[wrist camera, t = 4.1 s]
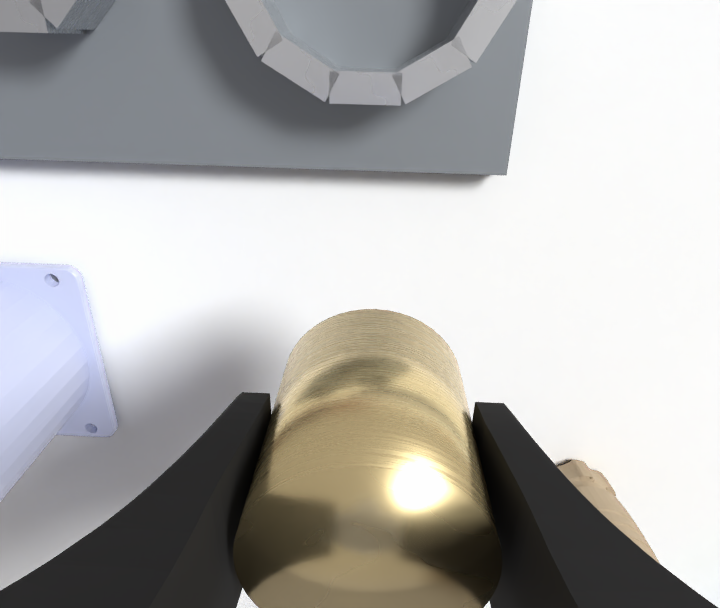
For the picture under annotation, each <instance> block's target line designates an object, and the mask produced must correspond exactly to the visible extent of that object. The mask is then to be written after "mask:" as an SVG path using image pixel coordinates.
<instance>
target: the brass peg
mask: <svg viewBox="0 0 720 608" xmlns="http://www.w3.org/2000/svg"><path fill="white" fill-rule="evenodd" d="M233 562H234V567H235V571H236V574H237V577H238V579H239V581H240V584H241V585H242V587H243V589H244V590H245V592H246V594H247V595H248V596H249V597H250V598H251V600H252V601H253V602H254V603H255V604H256V605H257V606H258V607H259V608H484V606H485V605H486V604H487V603H488V601H489V600H490V599H491V597H492V596H493V594H494V592H495V590H496V588H497V586H498V583H499V580H500V577H501V572H502V564H503V563H502V551H501V547H500V542H499V538H498V534H497V529H496V525H495V521H494V516H493V512H492V508H491V503H490V499H489V495H488V491H487V486H486V482H485V478H484V473H483V469H482V465H481V460H480V456H479V452H478V447H477V443H476V439H475V434H474V430H473V426H472V421H471V417H470V413H469V408H468V404H467V400H466V395H465V391H464V387H463V382H462V378H461V374H460V370H459V366H458V363H457V360H456V358H455V356H454V354H453V352H452V350H451V349H450V347H449V346H448V344H447V343H446V342H445V341H444V340H443V338H442V337H441V336H440V335H439V334H437V333H436V332H435V331H434V330H433V329H432V328H430V327H429V326H427V325H425V324H424V323H422V322H420V321H418V320H416V319H414V318H412V317H410V316H407V315H404V314H401V313H397V312H393V311H388V310H378V309H363V310H355V311H349V312H345V313H341V314H338V315H336V316H333V317H330V318H328V319H326V320H324V321H322V322H321V323H319V324H317V325H316V326H314V327H313V328H312V329H310V330H309V331H308V332H307V333H306V334H305V335H304V336H303V337H302V338H301V339H300V340H299V342H298V343H297V344H296V345H295V347H294V349H293V350H292V352H291V354H290V356H289V359H288V362H287V364H286V368H285V371H284V374H283V378H282V381H281V384H280V388H279V391H278V395H277V398H276V401H275V405H274V408H273V411H272V415H271V418H270V421H269V425H268V428H267V432H266V435H265V438H264V442H263V445H262V448H261V452H260V455H259V458H258V462H257V465H256V469H255V472H254V475H253V479H252V482H251V485H250V489H249V492H248V495H247V499H246V502H245V506H244V509H243V512H242V516H241V519H240V522H239V526H238V529H237V532H236V536H235V540H234V546H233Z"/></svg>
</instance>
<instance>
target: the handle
mask: <svg viewBox="0 0 720 608" xmlns="http://www.w3.org/2000/svg"><path fill="white" fill-rule="evenodd" d="M557 467H558V468H559V470H560V471H561V472H562V473H563V474H564V475H565V476H566V477H567V479H568V480H569V481H570V482H571V483H572V484H573V485H574V486H575V487H576V488H577V489H578V490H579V491H580V492H581V493H582V494H583V495H584V496H585V497H586V498H587V499H588V500H589V501H590V502H591V503H592V504H593V505H594V506H595V507H596V508H597V509H598V510H599V511H600V512H601V513H602V514H603V515H604V516H605V517H606V518H607V519H608V520H609V521H610V522H611V523H612V524H614V525H615V526H616V527H617V528H618V529H619V530H620V531H622V532H623V533H624V534H625V535H626V536H627V537H628V538H630V539H631V540H632V541H633V542H634V543H635V544H636V545H638V546H639V547H640V548H641V549H642V550H643V551H645V552H646V553H647V554H648V555H649V556H651V557H652V558H653V559H654V560H656V561H657V562H658V560H657V558H656V556H655V554H654V553H653V551H652V549H651V547H650V546H649V544H648V543H647V541H646V540H645V538H644V536H643V534H642V533H641V531H640V530H639V528H638V527H637V525H636V523H635V522H634V521H633V519H632V518H631V516H630V515H629V513H628V512H627V511H626V509H625V508H624V507H623V506H622V504H621V503H620V502H619V501H618V499H617V498H616V497H615V496H616V494H615V492H614V490H613V488H612V487H611V485H610V484H609V482H608V481H607V479H606V478H605V477H604V476H603V474H602V473H601V472H599V471H594V470H591V469H589V468H588V467H587V465H586V464H585V463H584V462H583V461H578V460H571V461H570V462H568V463H566V464H564V465H561V466H557ZM658 563H659V562H658ZM659 564H660V563H659Z"/></svg>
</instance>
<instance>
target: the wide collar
mask: <svg viewBox="0 0 720 608" xmlns="http://www.w3.org/2000/svg"><path fill="white" fill-rule="evenodd" d="M225 1H226V3H227V5H228V6H229V8H230V10H231V12H232V13H233V15H234V17H235V19H236V20H237V22H238V24H239V26H240V28H241V29H242V31H243V33H244V35H245V36H246V38H247V40H248V42H249V43H250V45H251V47H252V49H253V50H254V52H255V54H256V56H257V57H261V56H263V58H262V60H261V61H262V62H263V63H265V64H266V65H268V66H270V67H271V68H273V69H274V70H276V71H277V72H279V73H280V74H282V75H284V76H285V77H287V78H288V79H290V80H291V81H293V82H294V83H296V84H298V85H299V86H301V87H302V88H304V89H305V90H307V91H308V92H310V93H311V94H313V95H315V96H316V97H318V98H319V99H321V100H322V101H324V102H325V101H326V100H327V99H328V98H329V104H362V105H396V106H401V96H402V98H403V100H404V102H405V104H407V103H409V102H411V101H412V100H414V99H416V98H418V97H420V96H421V95H423V94H425V93H427V92H428V91H430V90H432V89H434V88H436V87H437V86H439V85H441V84H443V83H444V82H446V81H448V80H450V79H451V78H453V77H455V76H457V75H459V74H460V73H462V72H464V71H466V70H467V69H469V68H471V67H472V66H471V63H470V62H474V63H476V62H477V61H478V59H479V58H480V56H481V55H482V53H483V52H484V50H485V49H486V47H487V45H488V44H489V42H490V41H491V39H492V38H493V36H494V35H495V33H496V32H497V30H498V29H499V27H500V25H501V24H502V22H503V21H504V19H505V18H506V16H507V15H508V13H509V12H510V10H511V9H512V7H513V5H514V4H515V2H516V1H517V0H469V2H468V3H467V5H466V6H465V8H464V10H463V11H462V13H461V15H460V16H459V18H458V20H457V21H456V23H455V24H454V26H453V28H452V29H451V31H450V33H449V34H448V36H447V37H446V39H445V40H443V41H442V42H440V43H438V44H436V45H435V46H433V47H431V48H430V49H428V50H426V51H425V52H423V53H421V54H419V55H418V56H416V57H414V58H413V59H411V60H409V61H407V62H406V63H404V64H402V65H401V66H399V67H397V68H395V69H387V68H352V67H339V66H338V65H336V64H335V63H333V62H332V61H330V60H329V59H327V58H326V57H324V56H323V55H321V54H320V53H318V52H317V51H315V50H314V49H312V48H311V47H309V46H308V45H306V44H305V43H303V42H302V41H300V40H299V39H297V38H296V37H294V36H293V35H292V34H291V32H290V30H289V28H288V26H287V24H286V22H285V21H284V19H283V17H282V15H281V13H280V11H279V9H278V7H277V6H276V4H275V2H274V0H225Z"/></svg>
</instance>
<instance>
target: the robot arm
mask: <svg viewBox="0 0 720 608" xmlns="http://www.w3.org/2000/svg"><path fill="white" fill-rule="evenodd" d="M51 274H53V275H55V276H56V277H57V278H58V280H59V282H56V281H54V280H53V279H52V277H51ZM270 418H271V404H270V394H268V393H244V392H242V393H241V394H240V395H239V396H238V397H237V398H236V399H235V400H234V401H233V402H232V403H231V404H230V405H229V407H228V408H227V409H226V410H225V411H224V412H223V413H222V414H221V415H220V417H219V418H218V419H217V420H216V421H215V422H214V423H213V424H212V425H211V426H210V427H209V429H208V430H207V431H206V432H205V433H204V434H203V435H202V436H201V437H200V438H199V439H198V440H197V441H196V442H195V443H194V444H193V445H192V446H191V447H190V448H189V449H188V450H187V451H186V452H185V453H184V454H183V455H182V456H181V457H180V458H179V459H178V460H177V461H176V462H175V463H174V464H173V465H172V466H171V467H170V468H169V469H167V470H166V471H165V472H164V473H163V474H162V475H161V476H160V477H159V478H158V479H157V480H156V481H154V482H153V483H152V484H151V485H150V486H149V487H148V488H147V489H146V490H144V491H143V492H142V493H141V494H140V495H138V496H137V497H136V498H135V499H134V500H133V501H131V502H130V503H129V504H128V505H126V506H125V507H124V508H123V509H121V510H120V511H119V512H118V513H116V514H115V515H114V516H113V517H111V518H110V519H109V520H107V521H106V522H105V523H103V524H102V525H101V526H99V527H98V528H97V529H95V530H94V531H92V532H91V533H89V534H88V535H87V536H85V537H84V538H82V539H81V540H79V541H78V542H76V543H75V544H73V545H72V546H71V547H69V548H68V549H66V550H65V551H63V552H62V553H60V554H59V555H57V556H56V557H55V558H53V559H52V560H50V561H48V562H47V563H45V564H44V565H42V566H41V567H39V568H37V569H36V570H34V571H32V572H31V573H29V574H28V575H26V576H24V577H23V578H21V579H20V580H18V581H16V582H14V583H13V584H11V585H9V586H8V587H6V588H4V589H3V590H1V591H0V608H236V607H237V603H238V600H239V597H240V594H241V590H242V585H241V584H240V581H239V579H238V577H237V574H236V571H235V567H234V562H233V546H234V540H235V536H236V532H237V529H238V526H239V522H240V519H241V516H242V512H243V509H244V506H245V502H246V499H247V495H248V492H249V489H250V485H251V482H252V479H253V475H254V472H255V469H256V465H257V462H258V458H259V455H260V452H261V448H262V445H263V442H264V438H265V435H266V432H267V428H268V425H269V421H270ZM91 424H94V425H95V426H96V427H95V426H93V425H91ZM472 426H473V430H474V434H475V439H476V443H477V447H478V452H479V456H480V460H481V465H482V469H483V473H484V478H485V482H486V486H487V491H488V495H489V499H490V503H491V508H492V512H493V516H494V521H495V525H496V529H497V534H498V538H499V542H500V547H501V551H502V563H503V564H502V572H501V577H500V580H499V583H498V586H497V588H496V590H495V592H494V594H493V596H492V597H491V599H490V604H491V608H718V607H716V606H715V605H713V604H712V603H711V602H709V601H708V600H706V599H705V598H704V597H702V596H701V595H700V594H698V593H697V592H696V591H694V590H693V589H692V588H690V587H689V586H688V585H686V584H685V583H684V582H682V581H681V580H680V579H679V578H677V577H676V576H675V575H673V574H672V573H671V572H669V571H668V570H667V569H666V568H664V567H663V566H662V565H660V564H659V563H658V562H657V561H656V560H654V559H653V558H652V557H651V556H649V555H648V554H647V553H646V552H645V551H643V550H642V549H641V548H640V547H639V546H638V545H636V544H635V543H634V542H633V541H632V540H631V539H630V538H628V537H627V536H626V535H625V534H624V533H623V532H622V531H620V530H619V529H618V528H617V527H616V526H615V525H614V524H612V523H611V522H610V521H609V520H608V519H607V518H606V517H605V516H604V515H603V514H602V513H601V512H600V511H599V510H598V509H597V508H596V507H595V506H594V505H593V504H592V503H591V502H590V501H589V500H588V499H587V498H586V497H585V496H584V495H583V494H582V493H581V492H580V491H579V490H578V489H577V488H576V487H575V486H574V485H573V484H572V483H571V482H570V481H569V480H568V479H567V477H566V476H565V475H564V474H563V473H562V472H561V471H560V470H559V468H558V467H557V466H556V465H555V464H554V463H553V462H552V461H551V460H550V458H549V457H548V456H547V455H546V454H545V453H544V451H543V450H542V449H541V448H540V447H539V446H538V444H537V443H536V442H535V441H534V440H533V438H532V437H531V436H530V435H529V434H528V432H527V431H526V430H525V429H524V427H523V426H522V425H521V424H520V422H519V421H518V420H517V419H516V417H515V416H514V415H513V414H512V413H511V411H510V410H509V409H508V408H507V407H506V405H505V404H504V403H484V402H475V407H474V414H473V420H472ZM117 428H118V423H117V419H116V414H115V410H114V406H113V402H112V397H111V393H110V389H109V385H108V381H107V376H106V372H105V368H104V364H103V359H102V355H101V351H100V347H99V342H98V338H97V334H96V330H95V326H94V321H93V317H92V313H91V309H90V304H89V300H88V296H87V292H86V287H85V283H84V279H83V276H82V274H81V272H80V271H79V270H78V269H77V268H75V267H73V266H70V265H59V264H33V263H6V262H0V502H1V501H2V499H3V498H4V497H5V496H6V495H7V493H8V492H9V491H10V490H11V488H12V487H13V486H14V485H15V484H16V482H17V481H18V480H19V479H20V478H21V476H22V475H23V474H24V473H25V471H26V470H27V469H28V468H29V467H30V465H31V464H32V463H33V462H34V461H35V459H36V458H37V457H38V456H39V454H40V453H41V452H42V451H43V450H44V448H45V447H46V446H47V445H48V444H49V442H50V441H51V440H52V439H53V437H54V436H55V435H71V436H93V437H110V436H112V435H113V434H114V432H115V431H116V429H117Z"/></svg>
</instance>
